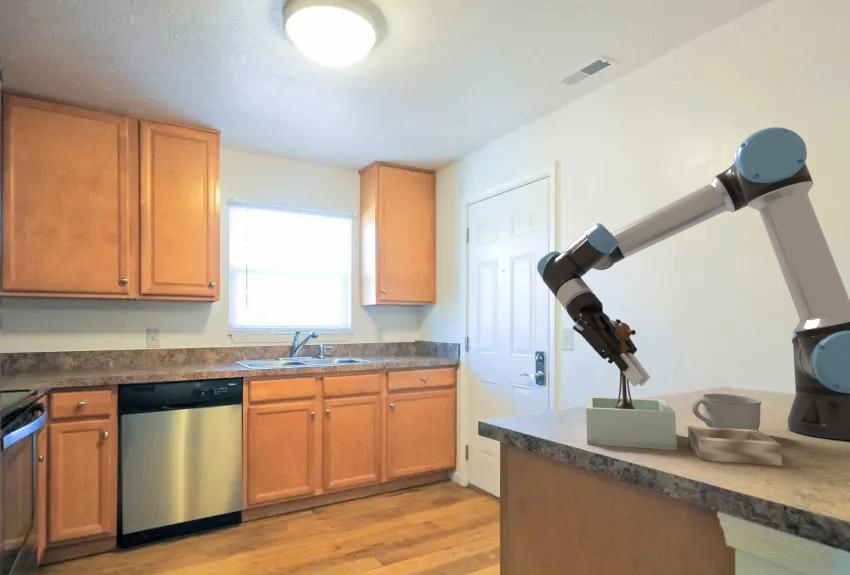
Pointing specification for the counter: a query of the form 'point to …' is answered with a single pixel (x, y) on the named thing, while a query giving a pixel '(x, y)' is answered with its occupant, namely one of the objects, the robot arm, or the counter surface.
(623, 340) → the wooden tabletop sculpture
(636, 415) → the bin
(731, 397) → the teacup
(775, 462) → the shallow wooden tray
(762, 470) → the counter surface
